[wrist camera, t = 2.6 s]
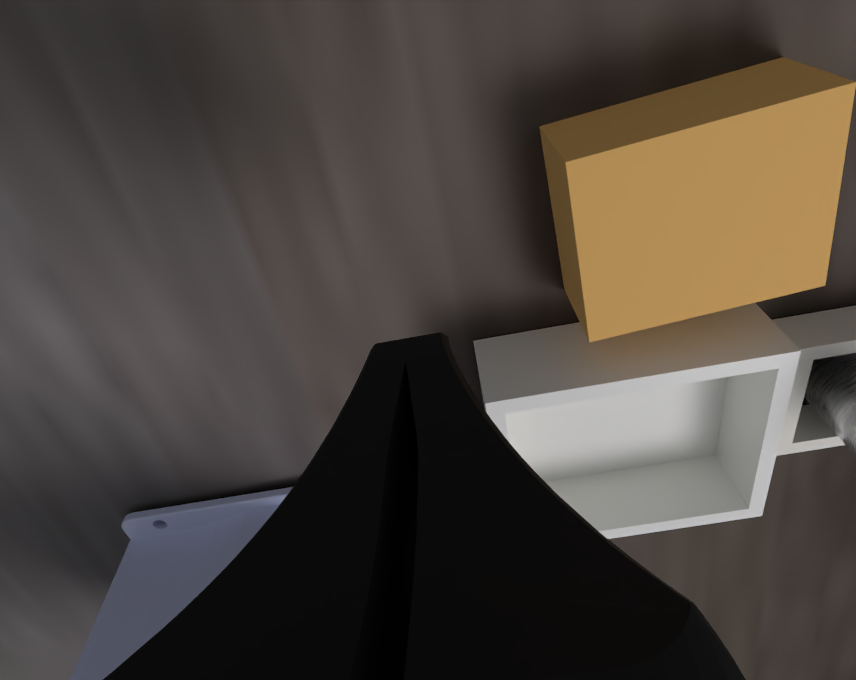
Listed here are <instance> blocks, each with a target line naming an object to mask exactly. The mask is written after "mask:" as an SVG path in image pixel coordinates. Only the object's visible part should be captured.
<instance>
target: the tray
mask: <svg viewBox="0 0 856 680" xmlns="http://www.w3.org/2000/svg"><path fill="white" fill-rule="evenodd" d="M473 343H474V349H475V355H476V361H477V367H478V373H479V379H480V385H481V391H482V397H483V403H484V409H485V411H486V413H487V414H488V415H489V417H490V418H491V420H492V421H493V422H494V423H495V425H496V426H497V427H498V429H499V430H500V431H501V433H502V434H503V435H504V437H505V438H506V439H507V440H508V441H509V443H510V444H511V445H512V446H513V447H514V449H515V450H516V451H517V452H518V453H519V455H520V456H521V457H522V458H523V459H524V460H525V461H526V462H527V463H528V464H529V466H530V467H531V468H532V469H533V470H534V471H535V472H536V473H537V474H538V475H539V476H540V477H541V478H542V479H543V480H544V481H545V482H546V483H547V484H548V485H549V486H550V487H551V488H552V490H553V491H554V492H555V493H557V494H558V495H559V496H560V497H561V498H562V499H563V500H564V501H565V502H566V503H568V504H569V505H570V506H571V507H572V508H573V509H574V510H575V511H576V512H578V513H579V514H580V515H581V516H582V517H583V518H584V519H585V520H586V521H588V522H589V523H590V524H591V525H592V526H593V527H594V528H595V529H596V530H598V531H599V532H600V533H601V534H602V535H603V536H605V537H606V538H607V539H611V538H618V537H625V536H631V535H638V534H645V533H651V532H658V531H665V530H671V529H678V528H685V527H691V526H698V525H705V524H712V523H718V522H725V521H732V520H738V519H745V518H752V517H758V516H762V514H763V509H764V505H765V501H766V497H767V493H768V488H769V484H770V480H771V476H772V472H773V467H774V463H775V459H776V455H777V450H778V446H779V442H780V438H781V434H782V429H783V425H784V421H785V417H786V413H787V408H788V404H789V400H790V396H791V391H792V387H793V383H794V379H795V375H796V370H797V366H798V362H799V358H800V354H801V350H800V349H799V348H798V347H797V346H796V345H795V344H794V343H793V342H792V341H791V340H790V339H789V338H788V337H787V336H786V334H785V333H784V332H783V331H782V330H781V329H780V328H779V327H778V326H777V325H776V324H775V323H774V322H773V321H772V320H771V319H770V318H769V317H768V316H767V315H766V314H765V313H764V312H763V311H762V309H761V308H760V307H759V306H758V305H757V304H756V303H751V304H747V305H743V306H739V307H735V308H731V309H727V310H722V311H718V312H714V313H710V314H706V315H702V316H698V317H693V318H689V319H685V320H681V321H677V322H673V323H668V324H664V325H660V326H656V327H652V328H648V329H644V330H639V331H635V332H631V333H627V334H623V335H619V336H615V337H610V338H606V339H602V340H598V341H594V342H590V343H589V341H588V339H587V336H586V334H585V332H584V330H583V328H582V326H581V324H580V322H578V323H572V324H566V325H561V326H555V327H549V328H543V329H538V330H532V331H526V332H520V333H515V334H509V335H503V336H497V337H492V338H486V339H480V340H474V341H473Z"/></svg>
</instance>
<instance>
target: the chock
mask: <svg viewBox="0 0 856 680" xmlns="http://www.w3.org/2000/svg"><path fill="white" fill-rule="evenodd" d="M855 87H856V82H855V81H852V80H849V79H846V78H843V77H840V76H837V75H834V74H831V73H828V72H826V71H823V70H820V69H817V68H814V67H811V66H808V65H805V64H802V63H799V62H796V61H793V60H790V59H787V58H784V57H782V58H778V59H775V60H771V61H768V62H764V63H761V64H757V65H753V66H750V67H746V68H743V69H739V70H736V71H732V72H729V73H725V74H722V75H718V76H715V77H711V78H708V79H704V80H701V81H697V82H694V83H690V84H687V85H683V86H680V87H676V88H672V89H669V90H665V91H662V92H658V93H655V94H651V95H648V96H644V97H641V98H637V99H634V100H630V101H627V102H623V103H620V104H616V105H613V106H609V107H606V108H602V109H599V110H595V111H591V112H588V113H584V114H581V115H577V116H574V117H570V118H567V119H563V120H560V121H556V122H553V123H549V124H546V125H542V126H539V128H540V134H541V141H542V147H543V154H544V160H545V167H546V173H547V180H548V186H549V193H550V199H551V206H552V212H553V219H554V225H555V232H556V238H557V245H558V251H559V258H560V264H561V270H562V277H563V283H564V290H565V292H566V294H567V296H568V298H569V300H570V303H571V305H572V307H573V309H574V311H575V313H576V315H577V317H578V319H579V322H580V324H581V326H582V328H583V330H584V332H585V334H586V336H587V339H588V341H589V343H590V342H594V341H598V340H602V339H606V338H610V337H615V336H619V335H623V334H627V333H631V332H635V331H639V330H644V329H648V328H652V327H656V326H660V325H664V324H668V323H673V322H677V321H681V320H685V319H689V318H693V317H698V316H702V315H706V314H710V313H714V312H718V311H722V310H727V309H731V308H735V307H739V306H743V305H747V304H751V303H756V302H760V301H764V300H768V299H772V298H776V297H780V296H785V295H789V294H793V293H797V292H801V291H805V290H809V289H814V288H818V287H822V286H825V285H826V278H827V272H828V265H829V259H830V252H831V245H832V239H833V232H834V226H835V219H836V212H837V206H838V199H839V193H840V186H841V179H842V173H843V166H844V160H845V153H846V147H847V140H848V133H849V127H850V120H851V114H852V107H853V100H854V94H855Z"/></svg>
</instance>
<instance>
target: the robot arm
mask: <svg viewBox="0 0 856 680" xmlns="http://www.w3.org/2000/svg"><path fill="white" fill-rule="evenodd" d="M121 527H122V529H123V531H124V532H125V533H126V534H127V536H128V537H129V538H130V542H129V544H128V546H127V549H126V551H125V553H124V556H123V558H122V560H121V563H120V565H119V567H118V569H117V572H116V574H115V576H114V579H113V581H112V583H111V586H110V588H109V590H108V593H107V595H106V597H105V600H104V602H103V604H102V607H101V609H100V611H99V614H98V616H97V618H96V621H95V623H94V625H93V627H92V630H91V632H90V634H89V637H88V639H87V641H86V644H85V646H84V648H83V651H82V653H81V655H80V658H79V660H78V662H77V665H76V667H75V669H74V672H73V674H72V676H71V678H70V680H746V679H745V678H744V676H743V674H742V673H741V671H740V669H739V668H738V666H737V664H736V663H735V661H734V659H733V658H732V656H731V655H730V653H729V652H728V650H727V649H726V647H725V646H724V644H723V643H722V641H721V640H720V638H719V637H718V635H717V634H716V632H715V631H714V630H713V628H712V627H711V626H710V624H709V623H708V621H707V620H706V619H705V617H704V616H703V615H702V613H701V612H700V611H699V609H698V608H697V607H696V605H695V604H694V603H693V602H691V601H690V600H689V599H687V598H686V597H684V596H683V595H681V594H680V593H679V592H677V591H676V590H674V589H673V588H672V587H670V586H669V585H667V584H666V583H664V582H663V581H662V580H660V579H659V578H658V577H656V576H655V575H653V574H652V573H651V572H649V571H648V570H647V569H645V568H644V567H643V566H641V565H640V564H639V563H637V562H636V561H635V560H633V559H632V558H631V557H630V556H628V555H627V554H626V553H625V552H623V551H622V550H621V549H620V548H618V547H617V546H616V545H615V544H613V543H612V542H611V541H610V540H608V539H607V538H606V537H605V536H603V535H602V534H601V533H600V532H599V531H598V530H596V529H595V528H594V527H593V526H592V525H591V524H590V523H589V522H588V521H586V520H585V519H584V518H583V517H582V516H581V515H580V514H579V513H578V512H576V511H575V510H574V509H573V508H572V507H571V506H570V505H569V504H568V503H566V502H565V501H564V500H563V499H562V498H561V497H560V496H559V495H558V494H557V493H555V492H554V491H553V490H552V488H551V487H550V486H549V485H548V484H547V483H546V482H545V481H544V480H543V479H542V478H541V477H540V476H539V475H538V474H537V473H536V472H535V471H534V470H533V469H532V468H531V467H530V466H529V464H528V463H527V462H526V461H525V460H524V459H523V458H522V457H521V456H520V455H519V453H518V452H517V451H516V450H515V449H514V447H513V446H512V445H511V444H510V443H509V441H508V440H507V439H506V438H505V437H504V435H503V434H502V433H501V431H500V430H499V429H498V427H497V426H496V425H495V423H494V422H493V421H492V420H491V418H490V417H489V415H488V414H487V413H486V411H485V410H484V408H483V407H482V405H481V404H480V402H479V401H478V399H477V398H476V396H475V395H474V393H473V391H472V390H471V388H470V387H469V385H468V383H467V382H466V380H465V378H464V377H463V375H462V373H461V371H460V369H459V367H458V365H457V363H456V361H455V359H454V356H453V354H452V351H451V349H450V345H449V340H448V337H447V336H446V335H444V334H443V333H441V332H440V333H434V334H429V335H423V336H417V337H411V338H406V339H400V340H394V341H389V342H383V343H377V344H375V345H374V346H373V348H372V349H371V351H370V353H369V355H368V358H367V360H366V362H365V364H364V367H363V369H362V371H361V373H360V375H359V377H358V379H357V381H356V383H355V386H354V388H353V390H352V392H351V394H350V395H349V397H348V399H347V401H346V403H345V405H344V407H343V408H342V410H341V412H340V414H339V416H338V418H337V419H336V421H335V423H334V425H333V427H332V428H331V430H330V432H329V433H328V435H327V436H326V438H325V440H324V441H323V443H322V444H321V446H320V448H319V449H318V451H317V452H316V454H315V456H314V457H313V459H312V460H311V462H310V464H309V465H308V467H307V468H306V469H305V471H304V472H303V474H302V475H301V477H300V478H299V480H298V481H297V482H296V484H295V485H294V486H293V487H289V488H283V489H276V490H270V491H264V492H258V493H252V494H245V495H239V496H233V497H227V498H220V499H214V500H208V501H202V502H196V503H189V504H183V505H177V506H171V507H164V508H158V509H152V510H146V511H140V512H133V513H130V514H127V515H126V516H125V518H124V520H123V522H122V525H121Z"/></svg>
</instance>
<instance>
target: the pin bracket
mask: <svg viewBox="0 0 856 680" xmlns="http://www.w3.org/2000/svg"><path fill="white" fill-rule="evenodd" d="M772 321H773V322H774V323H775V324H776V325H777V326H778V327H779V328H780V329H781V330H782V331H783V332H784V333H785V334H786V336H787V337H788V338H789V339H790V340H791V341H792V342H793V343H794V344H795V345H796V346H797V347H798V348H799V349H800V350H801V354H800V358H799V362H798V366H797V370H796V375H795V379H794V383H793V387H792V391H791V396H790V400H789V404H788V408H787V413H786V417H785V421H784V425H783V429H782V434H781V438H780V442H779V446H778V450H777V455H776V456H778V455H784V454H791V453H797V452H803V451H810V450H816V449H823V448H829V447H836V446H842V445H845V444H844V443H843V441H842V440H841V439H840V438H839V437H838V436H837V435H836V433H835V432H834V431H833V430H832V429H831V428H830V427H829V425H828V424H827V423H826V422H825V421H824V420H823V419H822V417H821V416H820V415H819V414H818V413H817V412H816V410H815V409H814V408H813V407H812V406H811V405H803V406H802V403H803V399H804V395H805V391H806V387H807V384H808V380H809V376H810V372H811V368H812V364H813V360H815V359H821V358H827V357H833V356H839V355H845V354H851V353H856V305H855V306H850V307H844V308H838V309H832V310H826V311H820V312H814V313H809V314H803V315H797V316H791V317H785V318H779V319H773V320H772Z"/></svg>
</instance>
